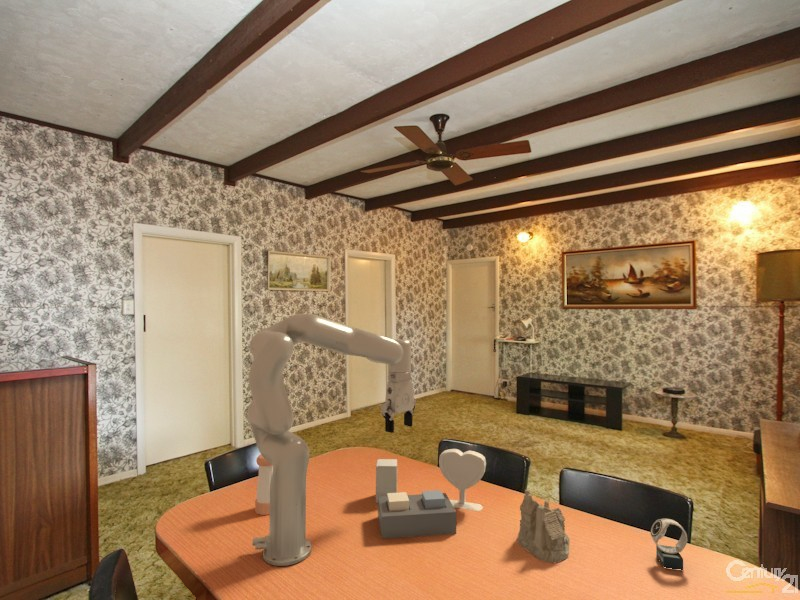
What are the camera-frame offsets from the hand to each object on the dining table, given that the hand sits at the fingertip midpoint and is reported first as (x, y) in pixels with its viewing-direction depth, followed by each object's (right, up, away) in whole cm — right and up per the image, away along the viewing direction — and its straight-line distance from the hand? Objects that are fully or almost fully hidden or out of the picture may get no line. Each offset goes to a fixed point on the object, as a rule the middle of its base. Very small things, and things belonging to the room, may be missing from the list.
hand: (399, 428), depth 137 cm
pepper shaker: (-44, -27, 0) cm, 51 cm away
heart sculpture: (+22, -27, +3) cm, 35 cm away
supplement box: (-4, -27, +8) cm, 29 cm away
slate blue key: (+11, -23, -9) cm, 27 cm away
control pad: (+5, -26, -10) cm, 29 cm away
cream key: (0, -23, -10) cm, 25 cm away
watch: (+70, -26, -29) cm, 81 cm away
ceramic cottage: (+42, -27, -20) cm, 54 cm away
